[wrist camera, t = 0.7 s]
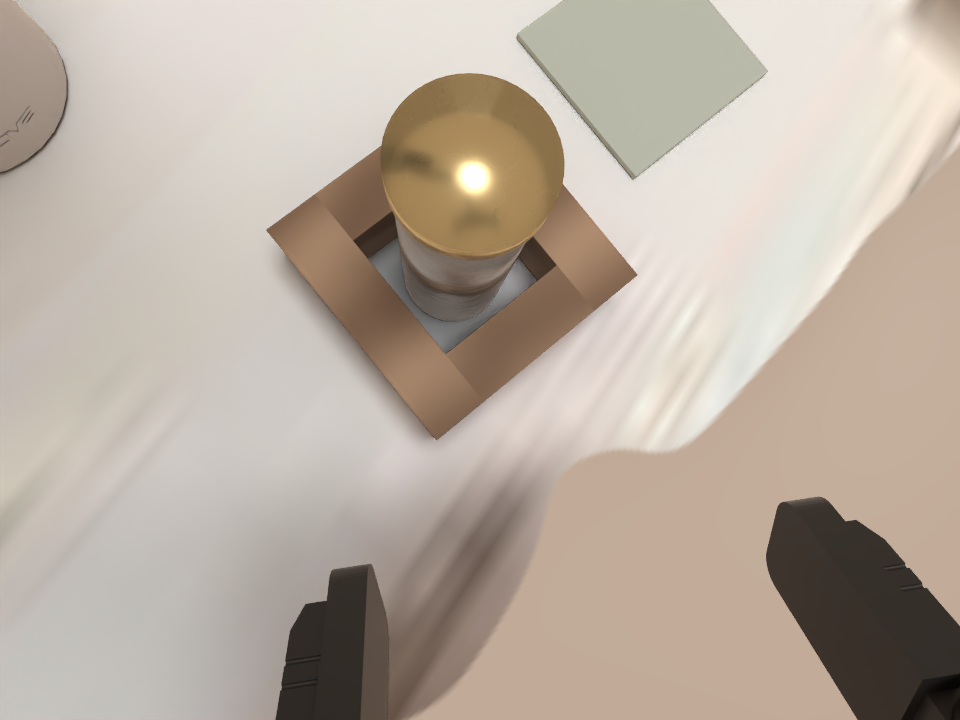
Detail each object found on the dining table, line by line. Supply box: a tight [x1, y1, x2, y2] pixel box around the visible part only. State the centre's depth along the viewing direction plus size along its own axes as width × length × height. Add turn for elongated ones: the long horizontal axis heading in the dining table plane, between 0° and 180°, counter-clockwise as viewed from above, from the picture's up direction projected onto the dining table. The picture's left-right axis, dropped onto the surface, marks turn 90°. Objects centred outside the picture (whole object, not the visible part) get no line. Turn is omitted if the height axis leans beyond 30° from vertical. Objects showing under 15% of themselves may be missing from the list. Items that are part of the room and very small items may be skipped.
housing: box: [267, 146, 637, 440], centre depth 30 cm, size 12×12×4 cm
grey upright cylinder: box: [380, 73, 564, 321], centre depth 25 cm, size 5×5×14 cm
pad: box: [517, 0, 768, 179], centre depth 34 cm, size 10×10×1 cm
